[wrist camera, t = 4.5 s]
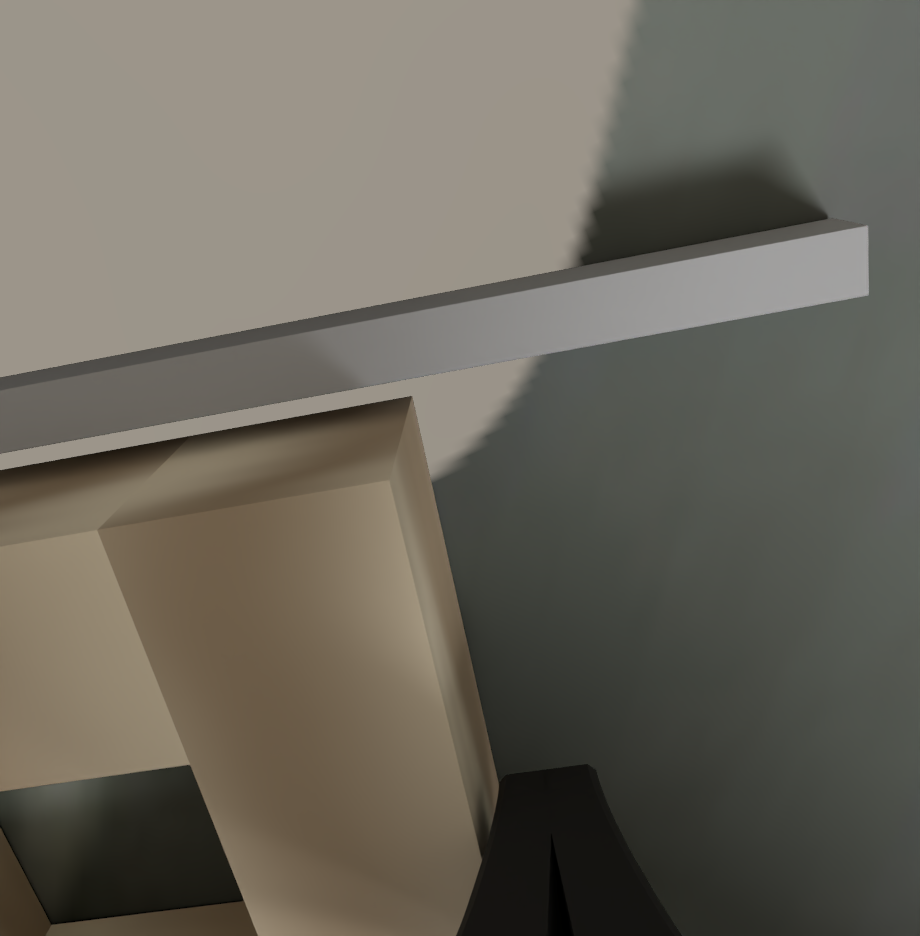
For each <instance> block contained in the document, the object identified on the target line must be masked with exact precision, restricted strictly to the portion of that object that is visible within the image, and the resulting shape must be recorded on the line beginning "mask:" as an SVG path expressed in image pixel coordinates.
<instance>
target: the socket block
mask: <svg viewBox="0 0 920 936" xmlns="http://www.w3.org/2000/svg"><path fill="white" fill-rule="evenodd" d="M184 765H190V766H191V768H192V771H193V773H194V776H195V778H196V781H197V783H198V786H199V788H200V791H201V793H202V796H203V798H204V801H205V803H206V806H207V808H208V811H209V813H210V816H211V819H212V821H213V824H214V826H215V829H216V831H217V834H218V836H219V839H220V841H221V844H222V846H223V849H224V851H225V854H226V856H227V859H228V861H229V864H230V866H231V869H232V871H233V874H234V876H235V879H236V882H237V884H238V887H239V889H240V892H241V894H242V897H243V899H244V901H240V902H232V903H224V904H216V905H208V906H200V907H192V908H184V909H176V910H168V911H160V912H152V913H144V914H136V915H128V916H120V917H112V918H103V919H95V920H87V921H79V922H71V923H63V924H55V925H51V923H50V922H49V920H48V918H47V916H46V914H45V912H44V910H43V908H42V906H41V904H40V902H39V901H38V899H37V897H36V895H35V893H34V891H33V889H32V887H31V885H30V883H29V881H28V880H27V878H26V876H25V874H24V872H23V870H22V868H21V866H20V864H19V862H18V860H17V859H16V857H15V855H14V853H13V851H12V849H11V847H10V845H9V843H8V841H7V839H6V838H5V836H4V834H3V832H2V830H1V828H0V936H456V935H457V932H458V930H459V927H460V925H461V922H462V919H463V917H464V914H465V911H466V908H467V905H468V902H469V899H470V896H471V893H472V890H473V887H474V884H475V881H476V878H477V875H478V872H479V869H480V865H481V862H482V859H483V856H484V852H485V848H486V845H487V841H488V837H489V834H490V830H491V826H492V822H493V817H494V813H495V808H496V803H497V797H498V790H499V783H498V778H497V774H496V770H495V765H494V761H493V756H492V752H491V747H490V743H489V738H488V734H487V729H486V725H485V720H484V716H483V711H482V707H481V702H480V698H479V693H478V689H477V684H476V680H475V676H474V671H473V667H472V662H471V658H470V653H469V649H468V644H467V640H466V635H465V631H464V626H463V622H462V617H461V613H460V608H459V604H458V599H457V595H456V590H455V586H454V582H453V577H452V573H451V568H450V564H449V559H448V555H447V550H446V546H445V541H444V537H443V532H442V528H441V523H440V519H439V514H438V510H437V505H436V501H435V496H434V492H433V488H432V483H431V479H430V474H429V470H428V465H427V461H426V456H425V452H424V447H423V443H422V438H421V434H420V429H419V425H418V421H417V416H416V411H415V407H414V402H413V398H412V396H410V397H404V398H399V399H393V400H388V401H383V402H376V403H371V404H365V405H360V406H354V407H349V408H343V409H338V410H332V411H327V412H321V413H315V414H310V415H305V416H299V417H293V418H288V419H283V420H277V421H271V422H266V423H260V424H255V425H249V426H243V427H238V428H232V429H227V430H222V431H216V432H210V433H205V434H199V435H194V436H188V437H183V438H177V439H171V440H166V441H160V442H155V443H149V444H144V445H138V446H133V447H127V448H121V449H116V450H110V451H105V452H100V453H94V454H88V455H83V456H77V457H71V458H66V459H60V460H55V461H49V462H44V463H39V464H33V465H27V466H22V467H16V468H11V469H5V470H0V791H7V790H14V789H21V788H28V787H35V786H42V785H49V784H56V783H63V782H70V781H77V780H85V779H92V778H99V777H106V776H113V775H120V774H127V773H134V772H141V771H148V770H155V769H163V768H170V767H177V766H184Z"/></svg>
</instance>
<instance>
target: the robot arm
mask: <svg viewBox="0 0 920 936" xmlns="http://www.w3.org/2000/svg"><path fill="white" fill-rule="evenodd" d="M456 936H682V935H681V934H680V932H679V931H678V929H677V928H676V926H675V925H674V923H673V922H672V920H671V919H670V917H669V915H668V914H667V912H666V911H665V909H664V907H663V906H662V904H661V903H660V901H659V900H658V898H657V896H656V895H655V893H654V891H653V889H652V888H651V886H650V884H649V883H648V881H647V879H646V877H645V876H644V874H643V872H642V871H641V869H640V867H639V865H638V864H637V862H636V860H635V859H634V857H633V855H632V853H631V851H630V849H629V847H628V846H627V844H626V842H625V840H624V838H623V836H622V834H621V832H620V830H619V828H618V826H617V824H616V822H615V820H614V817H613V815H612V813H611V811H610V808H609V806H608V804H607V801H606V799H605V797H604V794H603V791H602V788H601V785H600V783H599V779H598V776H597V772H596V770H595V769H594V768H592V767H591V766H589V765H588V764H585V765H577V766H569V767H562V768H554V769H547V770H539V771H532V772H524V773H516V774H509V775H506V776H505V777H504V778H503V779H502V780H501V781H500V783H499V790H498V797H497V803H496V808H495V813H494V817H493V822H492V826H491V830H490V834H489V837H488V841H487V845H486V848H485V852H484V856H483V859H482V862H481V865H480V869H479V872H478V875H477V878H476V881H475V884H474V887H473V890H472V893H471V896H470V899H469V902H468V905H467V908H466V911H465V914H464V917H463V919H462V922H461V925H460V927H459V930H458V932H457V935H456Z"/></svg>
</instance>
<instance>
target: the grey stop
mask: <svg viewBox="0 0 920 936" xmlns="http://www.w3.org/2000/svg"><path fill="white" fill-rule="evenodd" d="M867 295H869V283H868V225H863V224H858V223H853V222H849V221H844V220H839V219H834V218H831V219H825V220H820V221H815V222H810V223H805V224H799V225H794V226H789V227H784V228H778V229H773V230H768V231H763V232H758V233H752V234H747V235H742V236H737V237H732V238H726V239H721V240H716V241H711V242H705V243H700V244H695V245H690V246H685V247H679V248H674V249H669V250H664V251H658V252H653V253H648V254H643V255H638V256H632V257H627V258H622V259H617V260H611V261H606V262H601V263H596V264H591V265H585V266H580V267H575V268H570V269H565V270H559V271H555V272H549V273H544V274H539V275H533V276H528V277H523V278H518V279H513V280H507V281H503V282H497V283H492V284H486V285H481V286H476V287H471V288H465V289H460V290H455V291H450V292H445V293H440V294H434V295H429V296H424V297H418V298H413V299H408V300H403V301H398V302H392V303H387V304H382V305H377V306H371V307H366V308H361V309H357V310H351V311H345V312H340V313H335V314H330V315H325V316H319V317H314V318H309V319H304V320H298V321H293V322H288V323H283V324H278V325H273V326H268V327H262V328H257V329H252V330H246V331H241V332H236V333H231V334H225V335H220V336H215V337H210V338H204V339H200V340H194V341H189V342H184V343H178V344H173V345H168V346H163V347H157V348H153V349H147V350H142V351H137V352H132V353H127V354H121V355H116V356H111V357H106V358H100V359H95V360H90V361H84V362H79V363H74V364H69V365H63V366H59V367H53V368H48V369H43V370H37V371H32V372H27V373H22V374H17V375H11V376H6V377H1V378H0V454H1V453H6V452H12V451H17V450H23V449H28V448H33V447H39V446H44V445H50V444H55V443H61V442H66V441H72V440H77V439H83V438H88V437H94V436H99V435H105V434H110V433H116V432H121V431H127V430H132V429H137V428H143V427H149V426H154V425H159V424H165V423H171V422H176V421H181V420H187V419H193V418H198V417H204V416H209V415H215V414H219V413H225V412H231V411H236V410H242V409H247V408H253V407H258V406H264V405H269V404H274V403H280V402H286V401H291V400H297V399H302V398H308V397H313V396H318V395H324V394H330V393H335V392H341V391H346V390H352V389H357V388H363V387H368V386H373V385H379V384H385V383H390V382H395V381H401V380H406V379H412V378H417V377H423V376H428V375H433V374H439V373H445V372H450V371H456V370H461V369H467V368H472V367H478V366H483V365H489V364H494V363H499V362H505V361H510V360H516V359H522V358H527V357H533V356H538V355H544V354H549V353H555V352H560V351H566V350H571V349H576V348H582V347H587V346H593V345H598V344H604V343H609V342H615V341H620V340H626V339H631V338H637V337H642V336H648V335H653V334H659V333H664V332H670V331H675V330H681V329H686V328H692V327H697V326H703V325H708V324H714V323H719V322H725V321H730V320H736V319H741V318H746V317H752V316H757V315H763V314H768V313H774V312H779V311H785V310H790V309H796V308H801V307H807V306H812V305H818V304H823V303H829V302H834V301H840V300H845V299H851V298H856V297H862V296H867Z"/></svg>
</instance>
